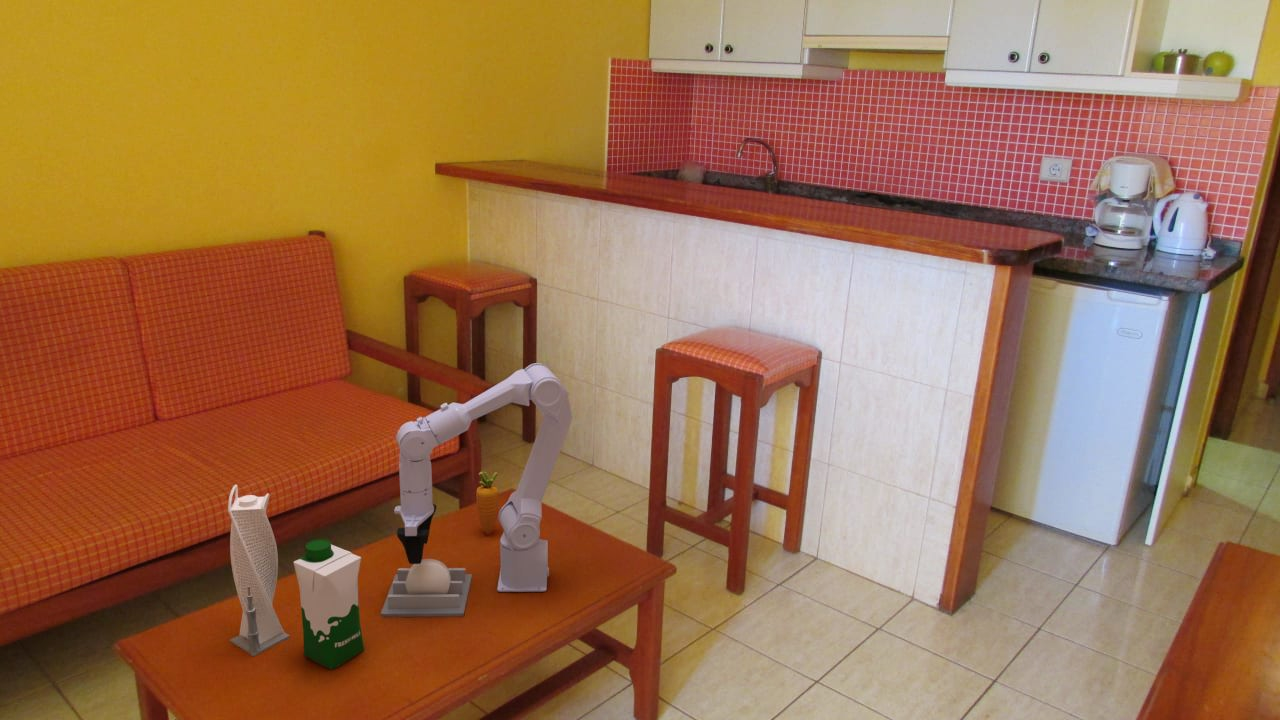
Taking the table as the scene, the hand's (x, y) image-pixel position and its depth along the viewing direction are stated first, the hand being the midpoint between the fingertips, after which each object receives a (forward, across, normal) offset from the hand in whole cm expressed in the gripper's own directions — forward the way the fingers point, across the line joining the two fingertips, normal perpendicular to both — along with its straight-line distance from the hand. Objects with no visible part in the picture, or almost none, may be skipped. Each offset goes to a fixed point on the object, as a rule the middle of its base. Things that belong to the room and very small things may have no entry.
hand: (418, 552), depth 168 cm
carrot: (+10, -25, +11) cm, 29 cm away
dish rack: (+9, 0, +2) cm, 10 cm away
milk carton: (+10, +18, -12) cm, 23 cm away
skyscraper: (+10, +12, -26) cm, 30 cm away
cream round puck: (+9, +2, +2) cm, 9 cm away
